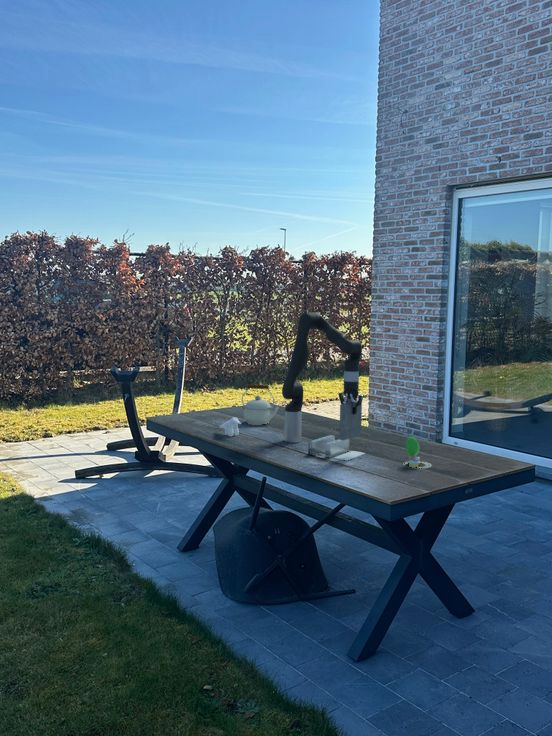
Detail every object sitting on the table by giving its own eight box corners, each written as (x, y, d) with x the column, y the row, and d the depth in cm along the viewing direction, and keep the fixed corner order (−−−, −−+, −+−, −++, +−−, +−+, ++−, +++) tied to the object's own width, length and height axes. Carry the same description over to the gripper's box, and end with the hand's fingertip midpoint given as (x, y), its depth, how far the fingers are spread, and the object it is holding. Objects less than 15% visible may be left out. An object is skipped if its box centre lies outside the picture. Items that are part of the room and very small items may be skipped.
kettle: (236, 424, 397) (236, 385, 394) (246, 419, 414) (246, 382, 412) (274, 427, 390) (274, 387, 387) (282, 421, 407) (283, 383, 404)
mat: (333, 458, 314) (333, 457, 314) (352, 451, 328) (352, 450, 328) (347, 461, 309) (347, 460, 309) (365, 454, 324) (365, 453, 324)
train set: (421, 442, 292) (396, 437, 302) (420, 471, 294) (396, 465, 304) (439, 437, 302) (414, 433, 313) (438, 465, 304) (414, 459, 314)
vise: (307, 454, 322) (307, 441, 322) (328, 447, 338) (328, 434, 337) (329, 458, 314) (329, 445, 313) (349, 451, 329) (350, 438, 329)
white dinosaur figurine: (237, 438, 355) (235, 418, 355) (214, 435, 374) (212, 416, 374) (246, 436, 360) (245, 417, 359) (223, 433, 378) (222, 415, 378)
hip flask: (343, 440, 311) (344, 400, 309) (336, 439, 314) (337, 399, 312) (362, 435, 322) (363, 397, 320) (355, 434, 325) (356, 396, 323)
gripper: (335, 379, 316) (334, 413, 318) (359, 382, 307) (358, 416, 309) (343, 378, 322) (342, 411, 324) (367, 380, 313) (366, 414, 315)
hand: (350, 413), depth 317 cm, fingers closed on hip flask, 4 cm apart
